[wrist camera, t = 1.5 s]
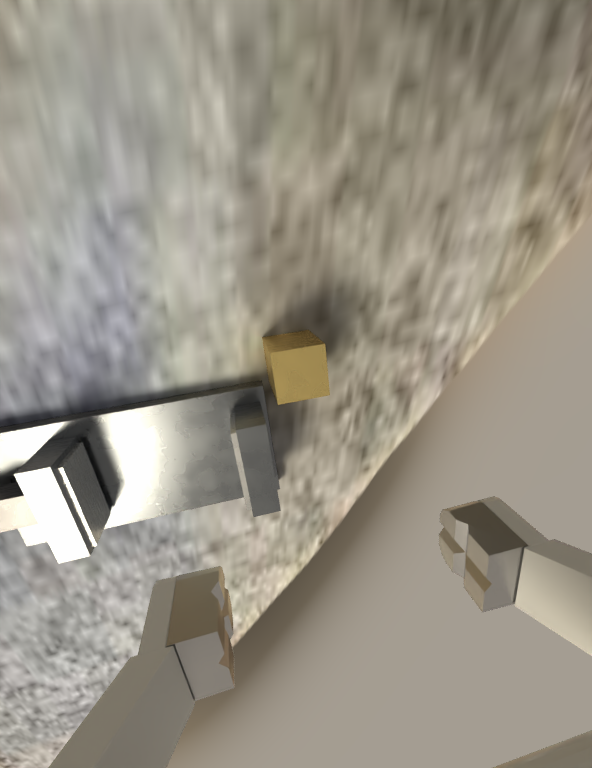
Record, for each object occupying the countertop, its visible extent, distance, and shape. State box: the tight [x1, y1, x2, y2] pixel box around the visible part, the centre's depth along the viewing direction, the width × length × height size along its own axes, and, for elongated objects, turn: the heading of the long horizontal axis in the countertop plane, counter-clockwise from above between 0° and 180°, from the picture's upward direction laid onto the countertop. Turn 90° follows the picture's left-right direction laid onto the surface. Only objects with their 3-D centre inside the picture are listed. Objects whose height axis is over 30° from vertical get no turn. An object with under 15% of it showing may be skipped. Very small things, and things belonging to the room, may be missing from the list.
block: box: [262, 330, 330, 405], centre depth 30 cm, size 4×4×6 cm
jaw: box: [0, 436, 111, 563], centre depth 29 cm, size 9×10×5 cm
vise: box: [0, 381, 281, 546], centre depth 31 cm, size 12×25×6 cm, turn 97°
